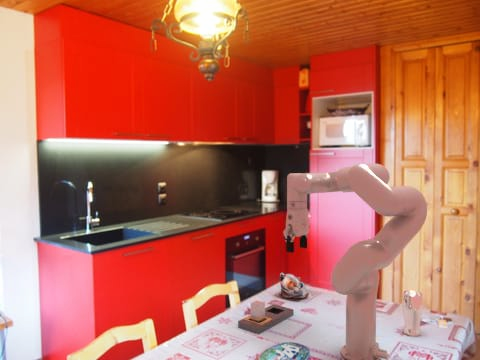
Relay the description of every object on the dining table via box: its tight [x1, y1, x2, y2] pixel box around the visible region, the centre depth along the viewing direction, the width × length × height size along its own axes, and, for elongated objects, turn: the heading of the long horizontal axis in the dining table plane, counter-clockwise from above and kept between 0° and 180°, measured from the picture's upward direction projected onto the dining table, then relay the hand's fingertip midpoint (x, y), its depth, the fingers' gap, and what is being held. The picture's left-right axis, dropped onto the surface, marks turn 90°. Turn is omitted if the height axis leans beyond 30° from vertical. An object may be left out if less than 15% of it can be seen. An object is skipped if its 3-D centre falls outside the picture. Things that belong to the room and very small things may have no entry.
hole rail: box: [237, 303, 294, 335], centre depth 159 cm, size 10×24×3 cm, turn 141°
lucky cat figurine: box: [279, 272, 310, 299], centre depth 189 cm, size 15×12×14 cm
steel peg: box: [250, 300, 266, 323], centre depth 154 cm, size 4×4×9 cm
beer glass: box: [401, 290, 424, 337], centre depth 149 cm, size 7×7×15 cm
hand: (296, 250), depth 153 cm, fingers open, 9 cm apart
